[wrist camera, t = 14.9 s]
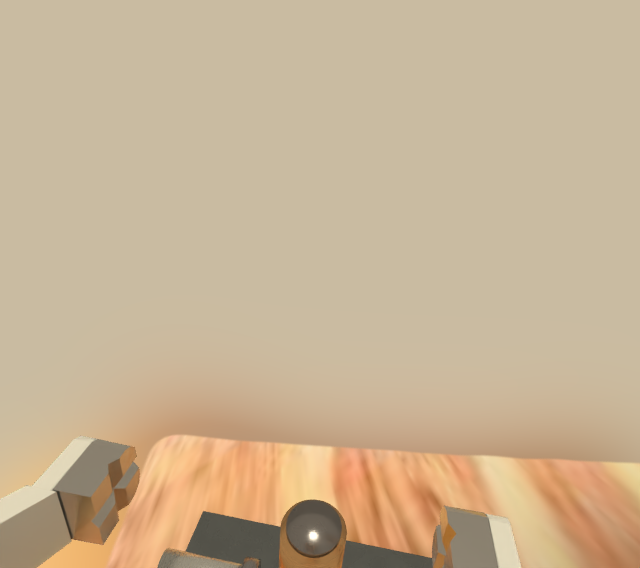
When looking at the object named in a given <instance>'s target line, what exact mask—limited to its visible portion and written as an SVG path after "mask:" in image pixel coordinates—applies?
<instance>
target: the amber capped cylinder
mask: <svg viewBox="0 0 640 568" xmlns="http://www.w3.org/2000/svg"><path fill="white" fill-rule="evenodd" d="M346 535H347V530H346V525H345V521H344V519H343V517H342V516H341V514H340V513H339V512H338V510H337V509H336V508H334V507H333V506H332V505H330V504H328V503H326V502H324V501H320V500H305V501H302V502H299V503H297V504H295V505H294V506H292V507H291V508H290V509H289V510H288V511H287V513H286V514H285V516H284V517H283V520H282V523H281V530H280V550H279V568H341V567H342V561H343V555H344V549H345V543H346Z"/></svg>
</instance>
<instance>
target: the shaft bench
mask: <svg viewBox="0 0 640 568" xmlns="http://www.w3.org/2000/svg"><path fill="white" fill-rule="evenodd" d="M280 530H281V527H278V526H273V525H268V524H263V523H258V522H254V521H249V520H244V519H239V518H234V517H229V516H224V515H220V514H215V513H210V512H205V511H203V513H202V515H201V518H200V520H199V522H198V524H197V527H196V529H195V531H194V533H193V536H192V538H191V540H190V542H189V545H188V547H187V549H186V551H180V550H176V549H171V548H167V549H166V550H165V552H164V553H163V555H162V557H161V559H160V562H159V564H158V568H279V550H280ZM341 568H433V559H432V558H428V557H424V556H419V555H414V554H409V553H404V552H399V551H394V550H390V549H385V548H380V547H375V546H370V545H365V544H360V543H356V542H351V541H346V543H345V549H344V555H343V561H342V567H341Z"/></svg>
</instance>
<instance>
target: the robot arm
mask: <svg viewBox="0 0 640 568" xmlns="http://www.w3.org/2000/svg"><path fill="white" fill-rule="evenodd" d="M136 457H137V455H136V450H135V447H131V446H127V445H122V444H118V443H112V442H108V441H104V440H99V439H95V438H90V437H85V436H79V437H77V438H76V439H74V440H73V441H72V442H71V443H70V444H69V445H68V447H66V449H65V450H64V451H63V452H62V453H61V454H60V455H59V456H58V458H57V459H56V460H55V461H54V462H53V463H52V464H51V465H50V466H49V468H48V469H47V470H46V471H45V472H44V473H43V474H42V475H41V477H40V478H39V479H38V480H37V481H36V482H35V483H34V484H33V485H32V486H28V485H26V486H24V487H22V488H20V489H18V490H16V491H15V492H13V493H11V494H9V495H7V496H5V497H3V498H1V499H0V568H37V567H38V566H40V565H41V564H42V563H43V562H45V561H46V560H47V559H49V558H50V557H51V556H52V555H54V554H55V553H56V552H58V551H59V550H61V549H62V548H63V547H65V546H66V545H67V544H69V543H70V542H71V539H74V540H79V541H84V542H90V543H96V544H100V545H104V543H105V541H106V540H107V538H108V537H109V535H110V533H111V532H112V530H113V529H114V527H115V526H116V524H117V522H118V521H119V518H118V517H119V516H118V511H119V510H121V509H122V508H124V507H126V506H127V505H129V503H130V502H131V500H132V498H133V497H134V495H135V492H136V490H137V487H138V484H139V478H140V472H139V467H138V466H137V465H136V464H135V463H134V462H133V461H134V460H135V458H136ZM432 559H433V568H522V566H521V562H520V559H519V555H518V551H517V547H516V543H515V539H514V535H513V531H512V528H511V524H510V522H509V520H508V519H507V518H505V517H500V516H495V515H489V514H484V513H482V512H476V511H471V510H465V509H459V508H454V507H448V506H444V507H443V508H442V510H441V513H440V525H438V526H436V529H435V533H434V537H433V546H432Z"/></svg>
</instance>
